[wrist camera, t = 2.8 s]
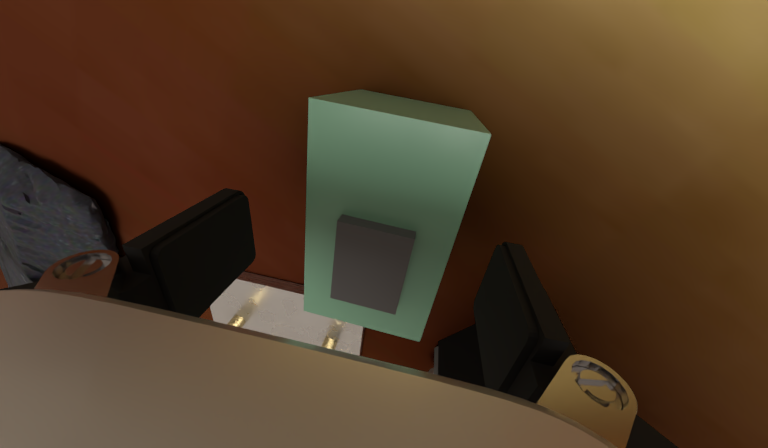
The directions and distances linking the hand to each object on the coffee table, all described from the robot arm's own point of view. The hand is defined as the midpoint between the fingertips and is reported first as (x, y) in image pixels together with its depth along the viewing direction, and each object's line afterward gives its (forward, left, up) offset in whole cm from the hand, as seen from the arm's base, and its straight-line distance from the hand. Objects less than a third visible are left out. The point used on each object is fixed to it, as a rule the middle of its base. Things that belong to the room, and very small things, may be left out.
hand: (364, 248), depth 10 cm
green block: (0, 0, -8) cm, 8 cm away
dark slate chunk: (+30, +14, -9) cm, 34 cm away
